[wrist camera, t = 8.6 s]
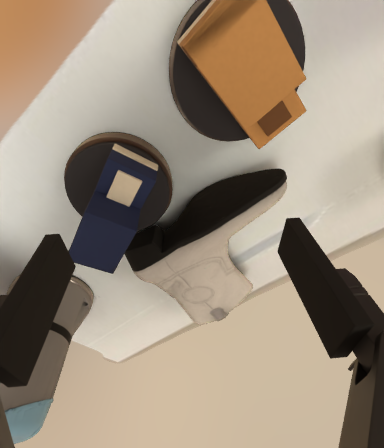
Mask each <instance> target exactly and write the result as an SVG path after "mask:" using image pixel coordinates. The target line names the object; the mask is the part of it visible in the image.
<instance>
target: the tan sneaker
mask: <svg viewBox="0 0 384 448" xmlns="http://www.w3.org/2000/svg"><path fill="white" fill-rule="evenodd" d="M304 62H305V42H304V35H303V31H302V27H301V24H300V21H299V19H298V16H297V15H296V13H295V11H294V9H293V8H292V6H291V5H290V4H289V3H288V1H287V0H205V1H203V2H202V3H201V5H200V6H199V7H198V8H197V9H196V10H195V11H194V12H193V14H192V15H191V16H190V18H189V19H188V21H187V23H186V24H185V26H184V28H183V30H182V32H181V35H180V37H179V40H178V41H177V46H176V50H175V56H174V62H173V80H174V87H175V93H176V96H177V99H178V102H179V105H180V107H181V109H182V111H183V113H184V114H185V116H186V117H187V119H188V120H189V121H190V123H191V124H192V125H193V126H194V127H195V128H197V129H198V130H199V131H201V132H202V133H204V134H205V135H207V136H209V137H212V138H215V139H218V140H223V141H238V140H243V139H247V138H250V139H251V140H252V141H253V143H254V144H255V145H256V146H257V148H258V149H260V148H261V147H263V146H264V145H265V144H266V143H268V142H269V141H270V140H271V139H272V138H274V137H275V136H276V135H277V134H279V133H280V132H281V131H282V130H284V129H285V128H286V127H287V126H288V125H290V124H291V123H292V122H293V121H295V120H296V119H297V118H298V117H300V116H301V115H302V114H303V113H304V112H306V109H305V107H304V105H303V104H302V102H301V100H300V98H299V96H298V95H297V93H296V92H297V89H298V87H299V85H300V84H301V83H302V82H303V81H305V80H306V77H305V75H304V73H303V69H304Z"/></svg>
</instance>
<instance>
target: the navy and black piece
mask: <svg viewBox="0 0 384 448" xmlns="http://www.w3.org/2000/svg"><path fill="white" fill-rule="evenodd" d="M65 189H66V193H67V196H68V198H69V200H70V202H71V204H72V205H73V207H74V208H75V209H76V211H77V212H78V213H79V214H80V215H81V216H82V220H81V222H80V225H79V227H78V230H77V232H76V235H75V238H74V240H73V243H72V245H71V247H70V249H69V251H68V252H69V254H70V256H71V258H72V260H73V262H74V263H77V264H81V265H84V266H88V267H91V268H94V269H98V270H101V271H105V272H108V273H112V274H113V273H114V271H115V269H116V268H117V266H118V263H119V262H120V260H121V258H122V257H123V255H124V253H125V251H126V250H127V248H128V246H129V244H130V243H131V241H132V239H133V237H134V236H135V234H136V232H137V231H139V230H142V229H145V228H147V227H149V226H151V225H152V224H154V223H155V222H156V221H158V220H159V219H160V218H161V217H162V215H163V214H164V212H165V210H166V209H167V206H168V203H169V196H170V189H169V183H168V179H167V177H166V174H165V172H164V171H163V169H162V167H161V166H160V165H159V164H158V162H157V161H156V160H155V159H154V158H153V157H152V156H150V155H149V154H148V153H146V152H145V151H143V150H141V149H139V148H137V147H135V146H133V145H129V144H126V143H121V142H101V143H96V144H93V145H91V146H88V147H86V148H85V149H83V150H82V151H80V152H79V153H78V154H77V155H76V156H75V157H74V158H73V159H72V161H71V162H70V164H69V166H68V168H67V171H66V175H65Z"/></svg>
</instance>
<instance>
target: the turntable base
mask: <svg viewBox="0 0 384 448" xmlns="http://www.w3.org/2000/svg"><path fill="white" fill-rule="evenodd" d="M101 142H121V143H126V144H129V145H133V146H135V147H137V148H139V149H141V150H143V151H145V152H146V153H148V154H149V155H150V156H152V157H153V158H154V159H155V160H156V161H157V162H158V164H159V165H160V166H161V167H162V169H163V171H164V172H165V174H166V177H167V179H168V183H169V189H170V196H169V203H168V206H169V204H170V202H171V198H172V176H171V172H170V169H169V166H168V164H167V162H166V161H165V159H164V158H163V156H162V155H161V154H160V153H159V152H158V150H157V149H155V148H154V147H153V146H152V145H151V144H149V143H148V142H146V141H145V140H143V139H141V138H138V137H136V136H133V135H130V134H126V133H119V132H107V133H101V134H98V135H95V136H92V137H90V138H88V139H87V140H85V141H84V142H83V143H81V144H80V145H79V146H78V147H77V149H76V150H75V151H74V152H73V153H72V155H71V156H70V158H69V160H68V162H67V164H66V168H65V174H64V179H65V175H66V171H67V168H68V166H69V164H70V162H71V161H72V159H73V158H74V157H75V156H76V155H77V154H78V153H79V152H80V151H82V150H83V149H85V148H86V147H88V146H91V145H93V144H96V143H101ZM168 206H167V208H168ZM166 210H167V209H166ZM166 210H165V211H166ZM164 213H165V212H164Z"/></svg>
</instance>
